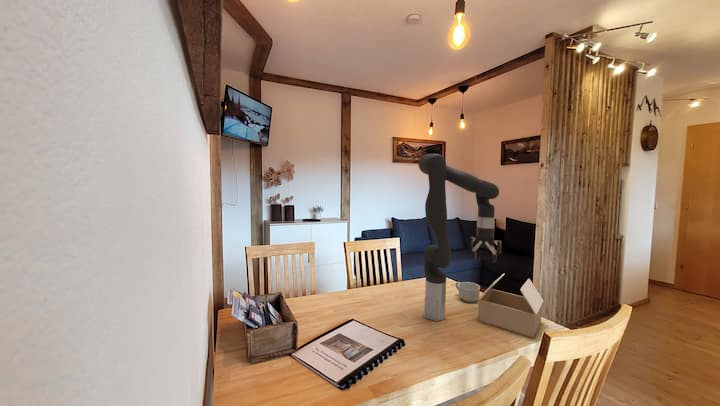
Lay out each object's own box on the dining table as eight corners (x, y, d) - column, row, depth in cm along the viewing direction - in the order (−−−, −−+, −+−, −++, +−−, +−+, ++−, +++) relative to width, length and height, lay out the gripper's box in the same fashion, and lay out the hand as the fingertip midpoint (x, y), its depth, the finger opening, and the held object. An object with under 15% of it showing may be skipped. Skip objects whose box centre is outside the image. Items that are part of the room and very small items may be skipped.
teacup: (484, 302, 152) (484, 287, 152) (467, 305, 148) (468, 290, 148) (465, 292, 165) (465, 278, 164) (449, 295, 161) (450, 281, 160)
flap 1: (494, 283, 127) (493, 282, 127) (478, 299, 131) (478, 298, 132) (504, 274, 140) (503, 273, 140) (490, 288, 145) (489, 287, 145)
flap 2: (535, 314, 117) (536, 314, 117) (519, 289, 120) (521, 289, 120) (542, 301, 130) (543, 300, 130) (528, 278, 134) (529, 278, 133)
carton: (533, 339, 118) (535, 315, 117) (477, 321, 132) (478, 299, 131) (540, 322, 132) (542, 301, 131) (489, 308, 146) (490, 288, 145)
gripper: (467, 225, 138) (466, 259, 139) (499, 229, 129) (498, 265, 130) (472, 224, 144) (471, 256, 145) (504, 227, 135) (502, 261, 136)
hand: (484, 260), depth 137 cm, fingers open, 8 cm apart
